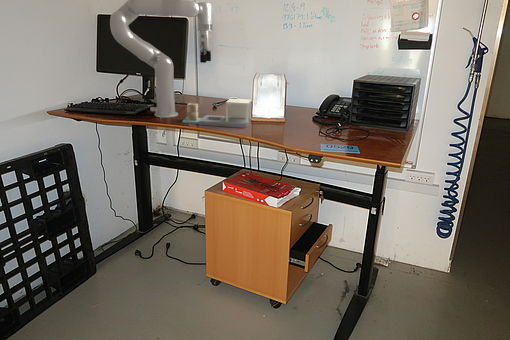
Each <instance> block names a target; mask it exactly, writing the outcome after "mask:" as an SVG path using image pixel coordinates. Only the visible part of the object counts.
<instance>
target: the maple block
mask: <svg viewBox="0 0 510 340" xmlns="http://www.w3.org/2000/svg"><path fill="white" fill-rule="evenodd" d="M186 114H187V116H186V118H188V120H192V121H196V120H198V119H199V118H200V117H199V103H195V102H194V103H193V102H189V103H188V104H186Z"/></svg>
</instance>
